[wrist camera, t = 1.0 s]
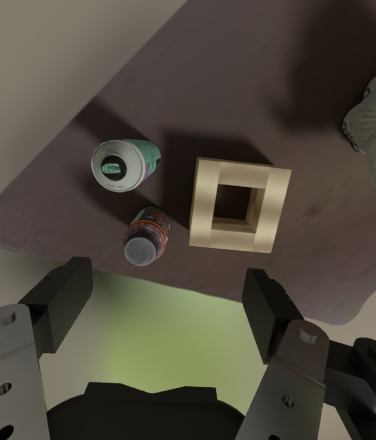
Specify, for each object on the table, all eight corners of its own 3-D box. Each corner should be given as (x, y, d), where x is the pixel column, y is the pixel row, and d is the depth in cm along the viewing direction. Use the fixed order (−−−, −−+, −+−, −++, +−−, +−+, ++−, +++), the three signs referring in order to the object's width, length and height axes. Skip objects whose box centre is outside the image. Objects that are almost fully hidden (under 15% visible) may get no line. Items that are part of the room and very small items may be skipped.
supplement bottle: (177, 218, 44) (174, 247, 31) (158, 244, 45) (148, 281, 33) (147, 198, 42) (132, 221, 30) (128, 226, 44) (107, 258, 32)
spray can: (123, 151, 39) (67, 159, 21) (149, 134, 39) (115, 125, 20) (141, 178, 41) (104, 208, 22) (167, 162, 40) (150, 179, 21)
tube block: (196, 156, 40) (199, 159, 33) (274, 165, 41) (291, 169, 34) (188, 230, 44) (188, 245, 38) (258, 236, 45) (270, 253, 38)
